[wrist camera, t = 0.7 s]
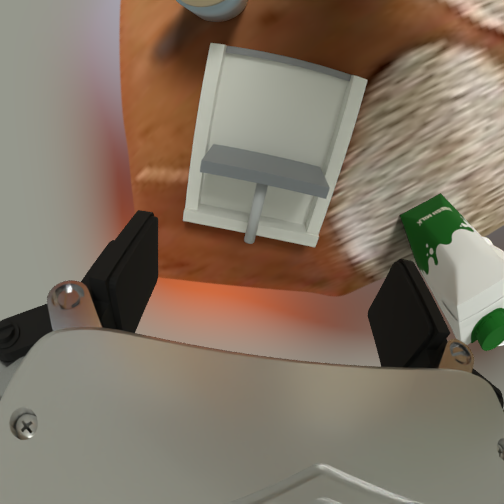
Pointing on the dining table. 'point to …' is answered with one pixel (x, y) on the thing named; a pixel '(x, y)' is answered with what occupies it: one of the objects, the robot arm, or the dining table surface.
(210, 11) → the glazed jar
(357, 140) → the dining table surface
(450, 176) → the dining table surface
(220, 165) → the pusher
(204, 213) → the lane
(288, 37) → the dining table surface
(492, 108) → the dining table surface
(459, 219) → the milk carton
